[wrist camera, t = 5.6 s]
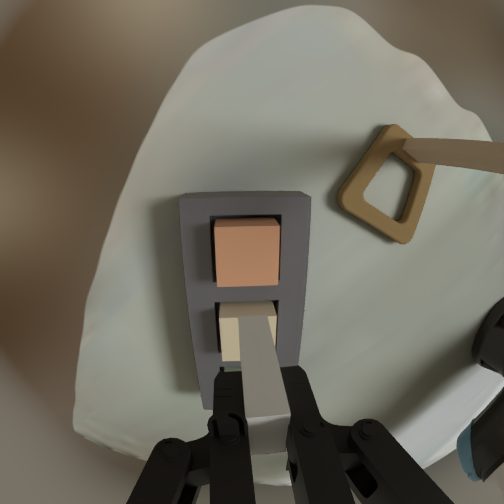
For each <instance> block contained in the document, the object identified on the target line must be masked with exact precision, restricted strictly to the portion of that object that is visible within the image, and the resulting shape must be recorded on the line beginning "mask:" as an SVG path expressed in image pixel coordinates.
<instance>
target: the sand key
mask: <svg viewBox="0 0 504 504" xmlns="http://www.w3.org/2000/svg"><path fill="white" fill-rule="evenodd" d="M257 315H267V317H268V321H269V325H270V329H271V333H272V337H273V342H274V346H275V341H276V321H277V315H276V312H275V308H274V305H273V301H272V300H266V301H239V302H220V312H219V323H220V337H221V350H222V361H240V344H239V327H238V317H239V316H257Z"/></svg>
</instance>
